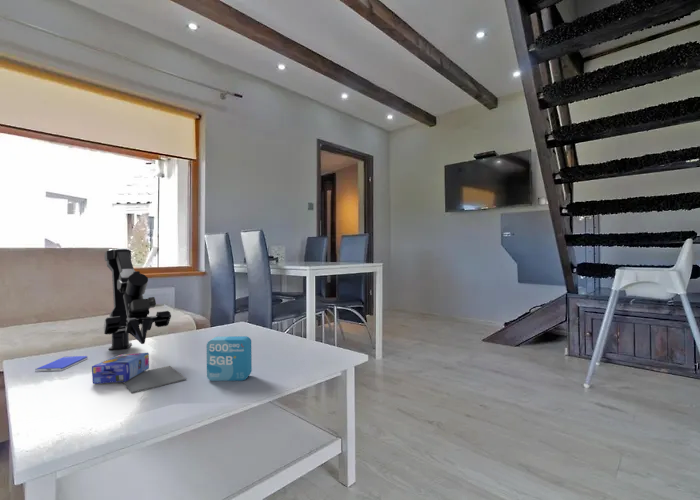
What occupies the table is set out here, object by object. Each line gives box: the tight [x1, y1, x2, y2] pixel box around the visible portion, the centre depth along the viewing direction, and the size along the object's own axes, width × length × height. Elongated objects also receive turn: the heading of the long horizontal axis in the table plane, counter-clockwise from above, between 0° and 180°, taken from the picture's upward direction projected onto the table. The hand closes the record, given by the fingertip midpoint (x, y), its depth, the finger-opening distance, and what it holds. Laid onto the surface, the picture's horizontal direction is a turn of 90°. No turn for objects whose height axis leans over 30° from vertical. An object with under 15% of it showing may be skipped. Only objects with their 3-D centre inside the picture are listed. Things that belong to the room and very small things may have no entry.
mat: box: [122, 365, 187, 394], centre depth 105 cm, size 16×14×1 cm
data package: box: [206, 335, 253, 382], centre depth 105 cm, size 12×4×12 cm, turn 90°
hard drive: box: [34, 355, 89, 372], centre depth 119 cm, size 2×8×12 cm
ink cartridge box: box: [91, 352, 150, 385], centre depth 105 cm, size 10×6×14 cm
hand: (143, 343), depth 112 cm, fingers closed
